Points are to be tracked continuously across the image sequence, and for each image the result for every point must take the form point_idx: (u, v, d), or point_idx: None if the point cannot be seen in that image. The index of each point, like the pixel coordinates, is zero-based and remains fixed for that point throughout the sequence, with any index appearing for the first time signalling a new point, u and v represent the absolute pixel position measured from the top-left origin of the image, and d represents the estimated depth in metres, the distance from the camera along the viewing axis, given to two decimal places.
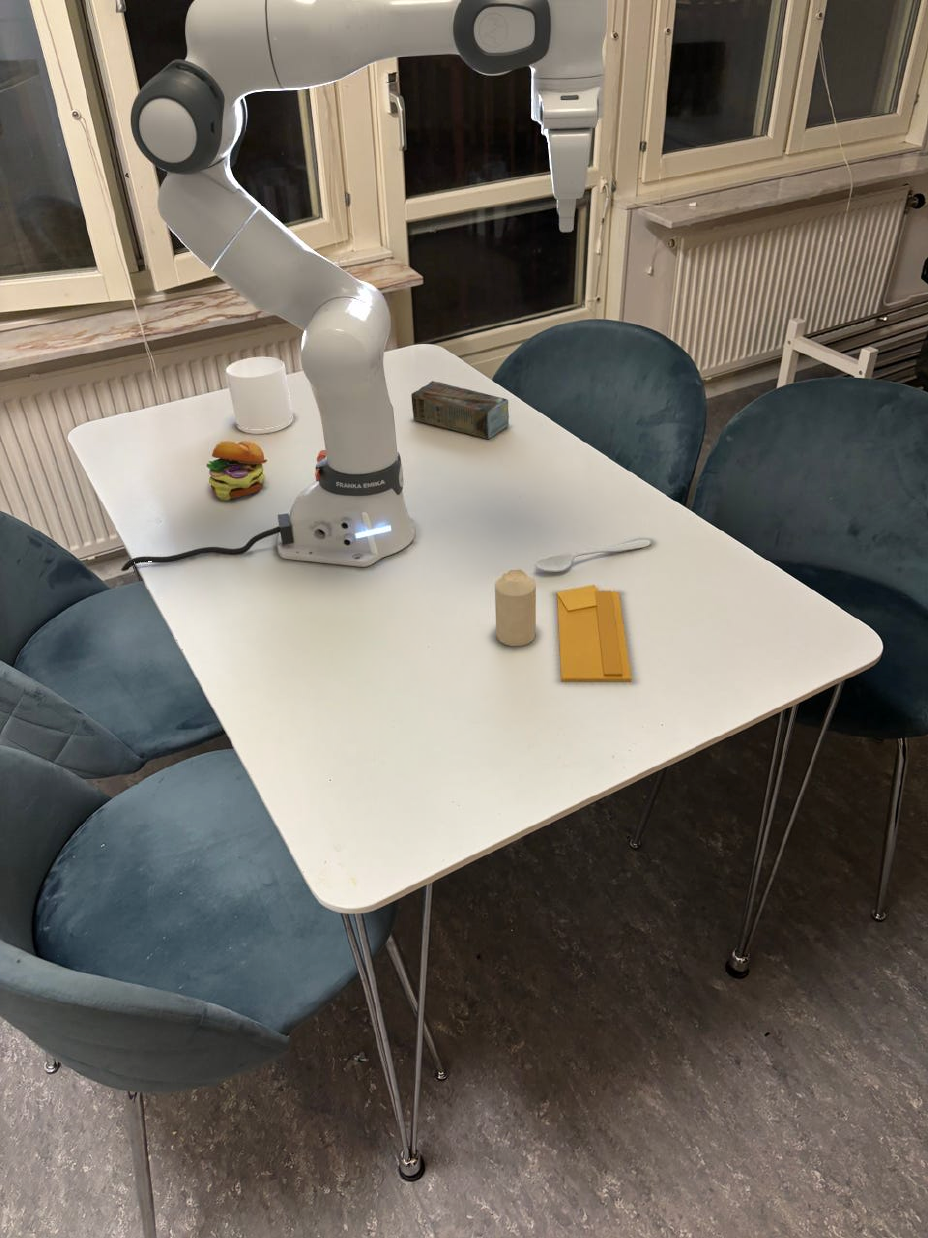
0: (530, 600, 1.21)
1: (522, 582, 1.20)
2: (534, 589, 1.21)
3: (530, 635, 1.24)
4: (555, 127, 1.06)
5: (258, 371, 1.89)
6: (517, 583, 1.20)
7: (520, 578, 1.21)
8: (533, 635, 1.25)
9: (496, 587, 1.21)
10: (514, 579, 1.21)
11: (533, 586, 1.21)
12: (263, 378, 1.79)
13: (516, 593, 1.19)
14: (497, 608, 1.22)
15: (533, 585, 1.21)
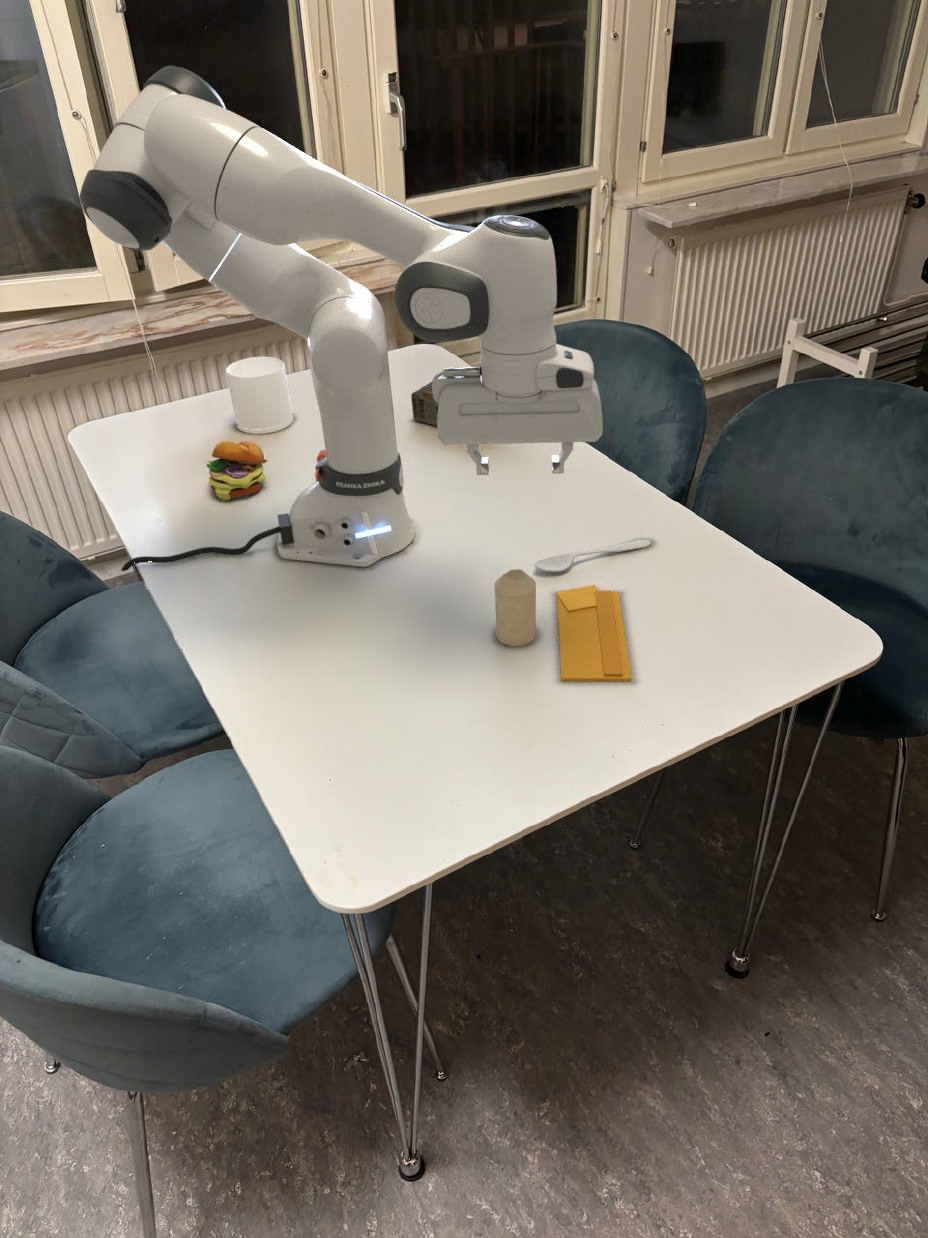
0: (530, 600, 1.21)
1: (522, 582, 1.20)
2: (534, 589, 1.21)
3: (530, 635, 1.24)
4: None
5: (258, 371, 1.89)
6: (517, 583, 1.20)
7: (520, 578, 1.21)
8: (533, 635, 1.25)
9: (496, 587, 1.21)
10: (514, 579, 1.21)
11: (533, 586, 1.21)
12: (263, 378, 1.79)
13: (516, 593, 1.19)
14: (497, 608, 1.22)
15: (533, 585, 1.21)
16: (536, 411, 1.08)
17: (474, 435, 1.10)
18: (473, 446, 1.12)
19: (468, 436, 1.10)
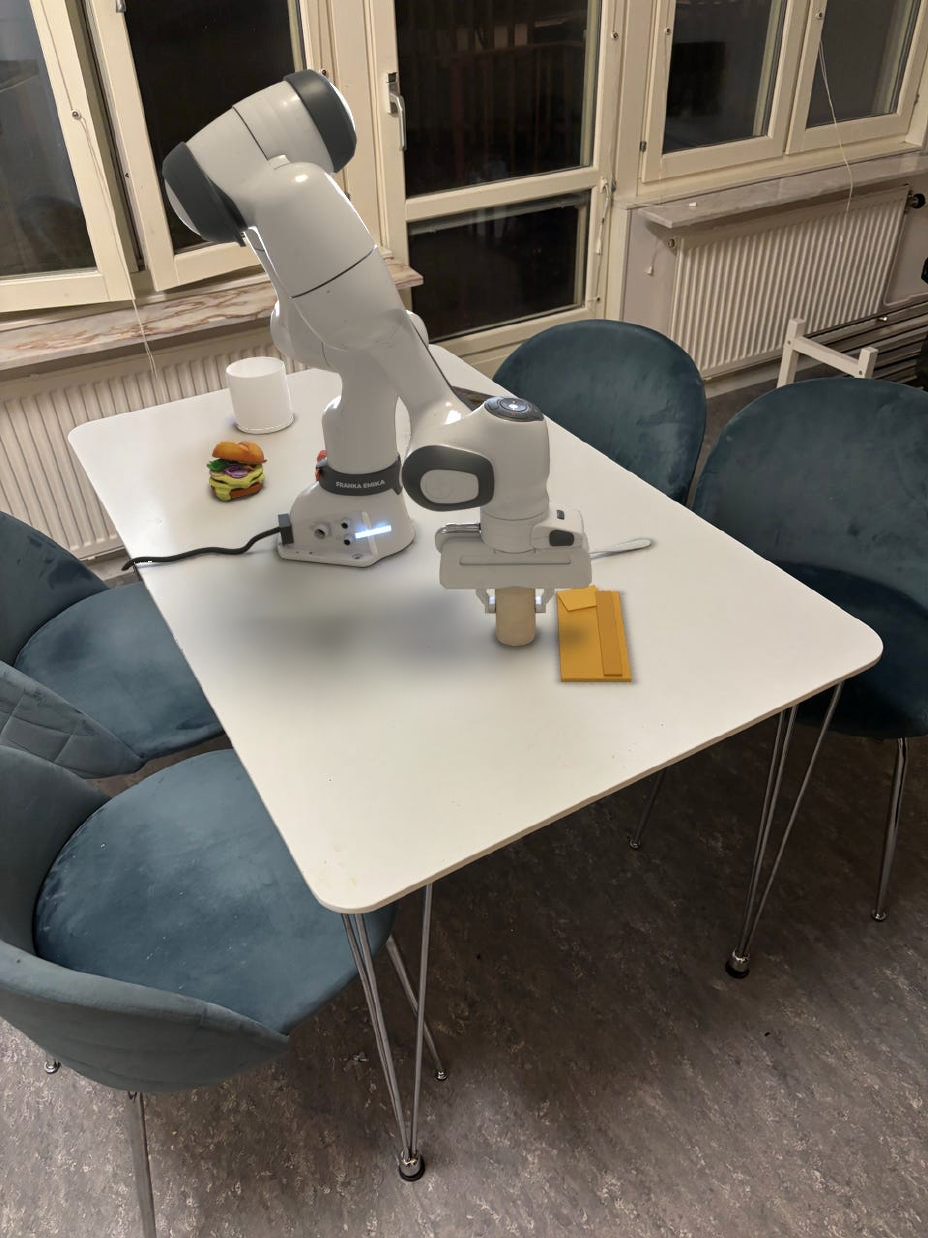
0: (529, 600, 1.21)
1: None
2: (534, 589, 1.21)
3: (530, 635, 1.24)
4: None
5: (258, 371, 1.89)
6: None
7: None
8: (533, 635, 1.25)
9: None
10: None
11: None
12: (263, 378, 1.79)
13: (516, 593, 1.19)
14: (497, 608, 1.22)
15: None
16: (531, 563, 1.18)
17: (473, 582, 1.19)
18: (482, 590, 1.21)
19: (468, 582, 1.20)
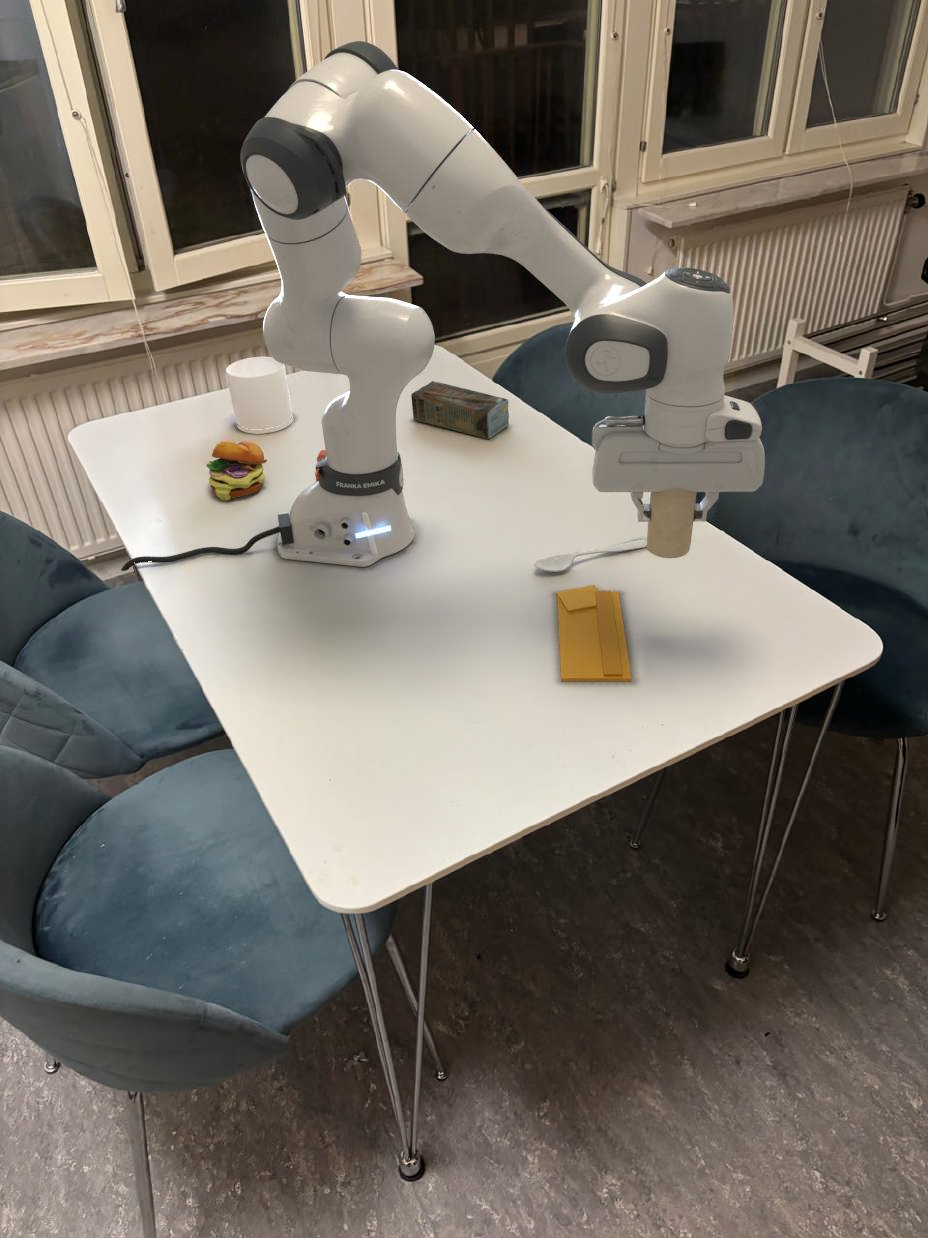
0: (691, 505, 1.10)
1: None
2: (696, 493, 1.10)
3: (687, 546, 1.14)
4: None
5: (258, 371, 1.89)
6: None
7: None
8: (689, 547, 1.15)
9: None
10: None
11: None
12: (263, 378, 1.79)
13: (678, 496, 1.09)
14: (653, 515, 1.12)
15: None
16: (697, 461, 1.07)
17: (631, 483, 1.09)
18: (638, 493, 1.11)
19: (625, 484, 1.09)
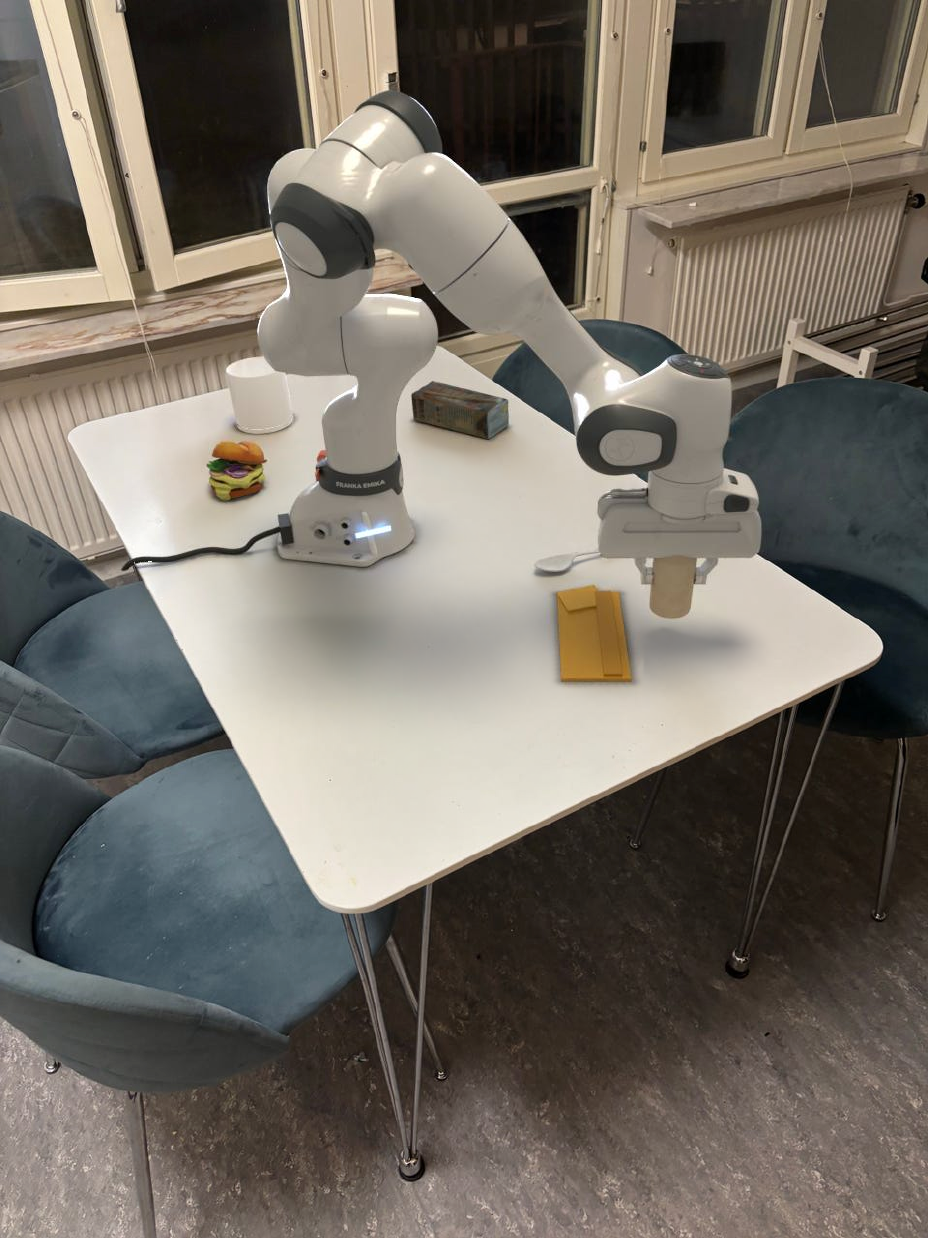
0: (692, 570, 1.16)
1: None
2: (696, 558, 1.16)
3: (687, 607, 1.20)
4: None
5: (258, 371, 1.89)
6: None
7: None
8: (690, 607, 1.21)
9: None
10: None
11: None
12: (263, 378, 1.79)
13: (679, 563, 1.15)
14: (655, 579, 1.18)
15: None
16: (698, 530, 1.13)
17: (635, 550, 1.15)
18: (642, 559, 1.17)
19: (629, 551, 1.15)
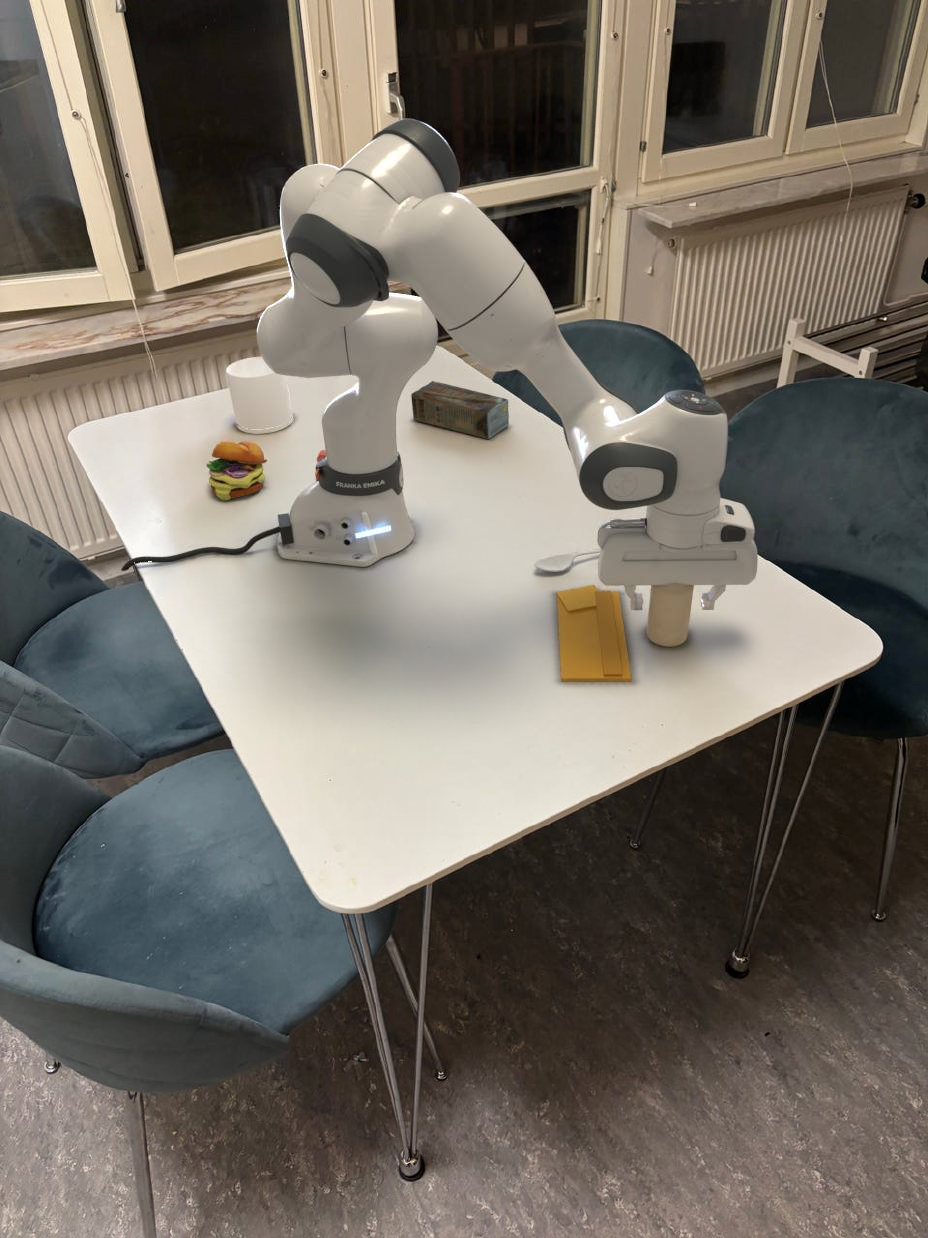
0: (688, 600, 1.19)
1: None
2: None
3: (684, 635, 1.23)
4: None
5: (258, 371, 1.89)
6: None
7: None
8: (686, 635, 1.23)
9: (654, 586, 1.19)
10: None
11: (692, 585, 1.19)
12: (263, 378, 1.79)
13: (676, 593, 1.18)
14: (653, 608, 1.21)
15: None
16: (695, 559, 1.16)
17: (635, 578, 1.18)
18: (631, 586, 1.20)
19: (629, 579, 1.18)
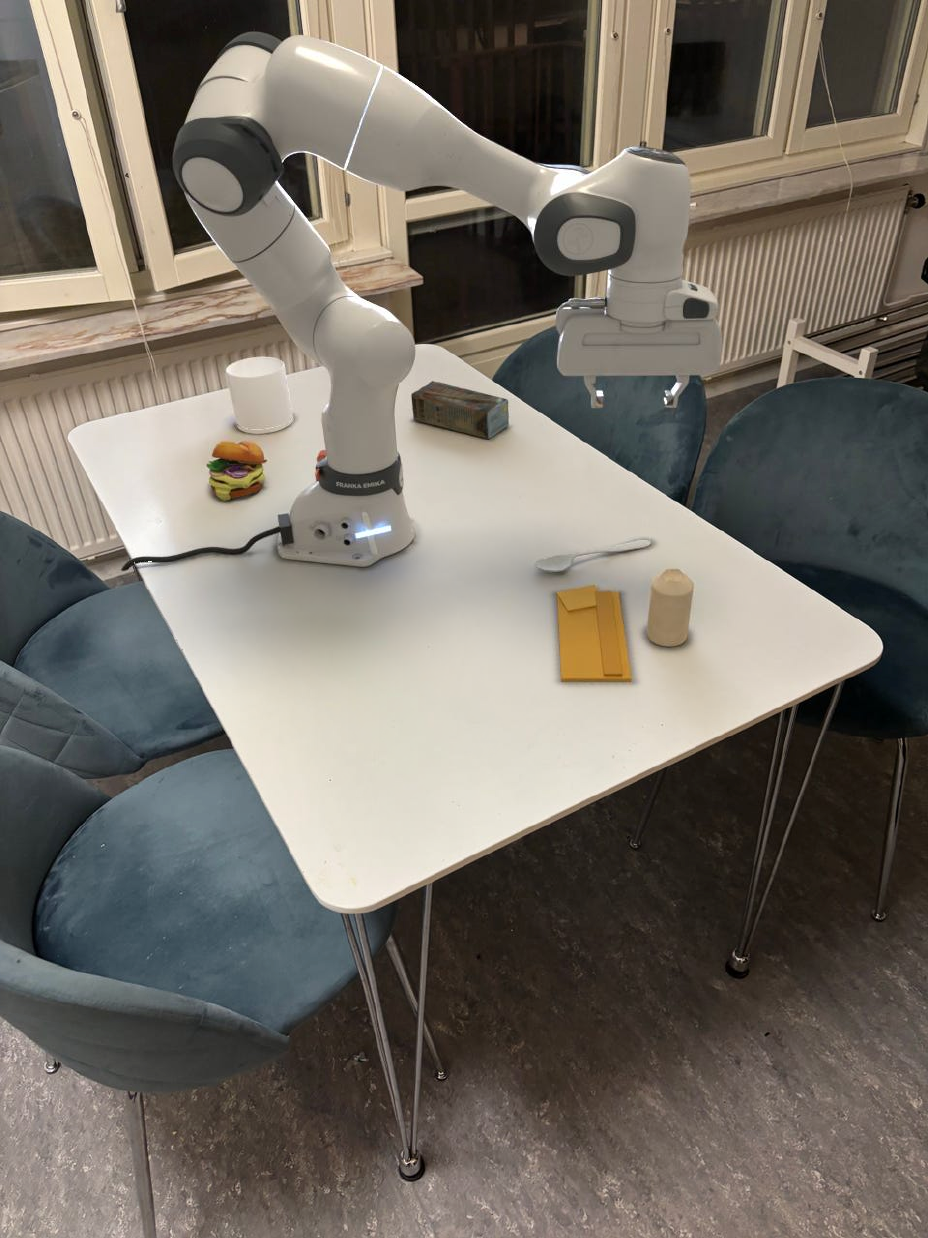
0: (688, 600, 1.19)
1: (682, 581, 1.18)
2: None
3: (684, 635, 1.23)
4: None
5: (258, 371, 1.89)
6: (677, 582, 1.18)
7: (678, 578, 1.20)
8: (686, 635, 1.23)
9: (654, 586, 1.19)
10: (672, 578, 1.20)
11: (692, 585, 1.19)
12: (263, 378, 1.79)
13: (676, 593, 1.18)
14: (653, 608, 1.21)
15: (692, 584, 1.19)
16: (657, 343, 1.11)
17: (594, 366, 1.13)
18: (591, 378, 1.15)
19: (588, 367, 1.13)
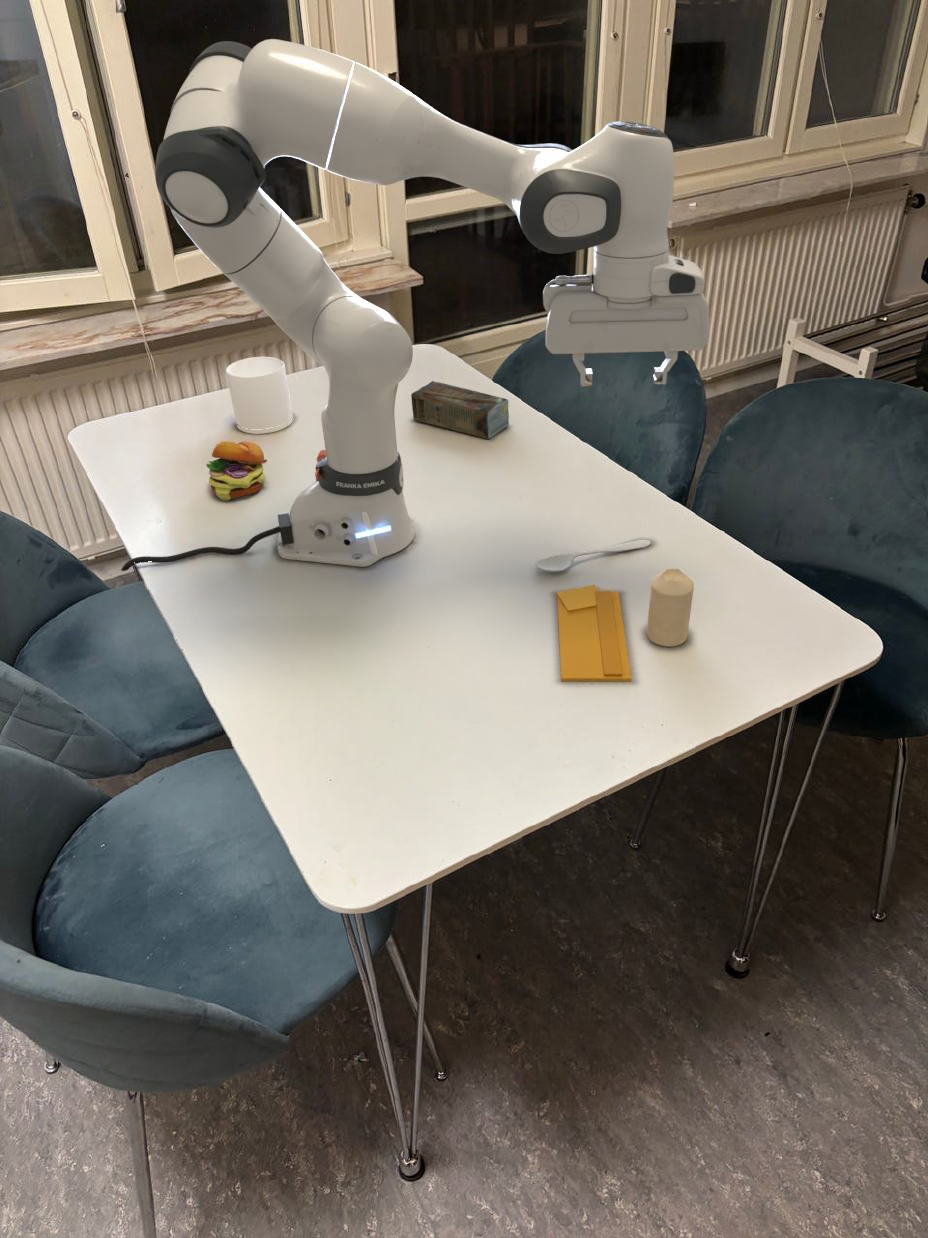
0: (688, 600, 1.19)
1: (682, 581, 1.18)
2: None
3: (684, 635, 1.23)
4: None
5: (258, 371, 1.89)
6: (677, 582, 1.18)
7: (678, 578, 1.20)
8: (686, 635, 1.23)
9: (654, 586, 1.19)
10: (672, 578, 1.20)
11: (692, 585, 1.19)
12: (263, 378, 1.79)
13: (676, 593, 1.18)
14: (653, 608, 1.21)
15: (692, 584, 1.19)
16: (645, 319, 1.11)
17: (582, 343, 1.13)
18: (580, 355, 1.15)
19: (576, 344, 1.13)
